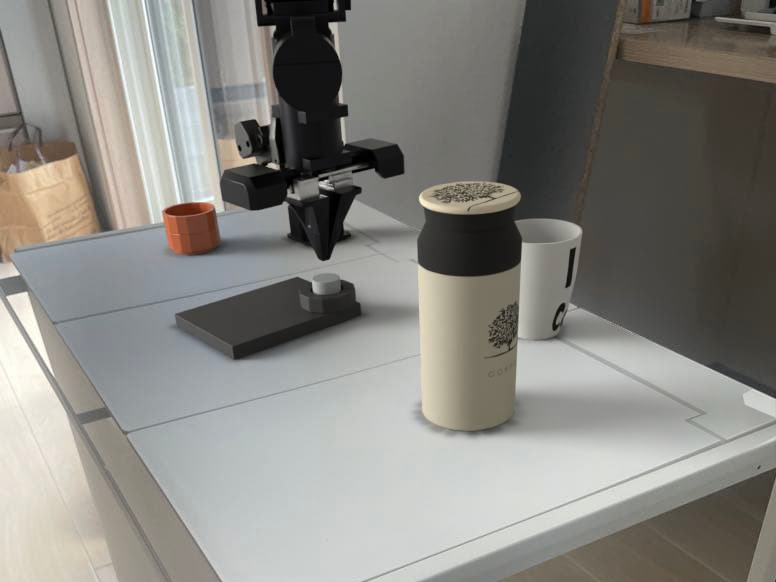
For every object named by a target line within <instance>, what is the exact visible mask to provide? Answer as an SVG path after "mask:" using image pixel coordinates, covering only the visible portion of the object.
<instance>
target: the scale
mask: <svg viewBox="0 0 776 582" xmlns="http://www.w3.org/2000/svg"><path fill="white" fill-rule="evenodd" d="M340 283H341V292H338V293H335V294H329V295H318V294H314V293H313V286H312V281H309V280H307V279H304V278H302V277H299V276H295V277H292V278H288V279H285V280H282V281H279V282H276V283H272V284H268V285H266V286H261V287H258V288H256V289H252V290H249V291H246V292H242V293H239V294H236V295H233V296H229V297H226V298H222V299H219V300H216V301H212V302H210V303H206V304H202V305H200V306H197V307H196V306H195V307H193V308H190V309H187V310H183V311H180V312H176V313H174V319H175V324H176V327H177V328H179V329H181V330H183V331H185V332H186V333H188V334H189V335H191V336H193V337H195V338H196V339H198V340H200V341H202V342H203V343H204V344H207V345H208V346H210V347H212V348H214V349H215V350H217V351H219V352H221V353H222V354H224V355H226V356H228V357H229V358H231V359H232V360H237V359H240V358H244V357H246V356H248V355H252V354H254V353H257V352H260V351H263V350H266V349H268V348H271V347H275V346H277V345H280V344H282V343H286V342H289V341H292V340H295V339H297V338H301V337H303V336H306V335H308V334H311V333H315V332H317V331H321V330H324V329H326V328H329V327H332V326H335V325H337V324H340V323H344V322H346V321H349V320H352V319H355V318H358V317H360V316H362V306H361V302H359V301H357V296H356V287H355V284H354V283H353V282H350V281H348V280H346V279H340Z"/></svg>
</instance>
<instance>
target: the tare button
mask: <svg viewBox="0 0 776 582" xmlns="http://www.w3.org/2000/svg"><path fill="white" fill-rule="evenodd" d="M340 280H341V276H340V275H339V274H337V273H333V272H332V273H331V272H323V273H318V274H315V275H314V276H312V277H311V282H312V286H313V293H314V294H318V295H329V294H335V293H338V292H341V283H340Z"/></svg>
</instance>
